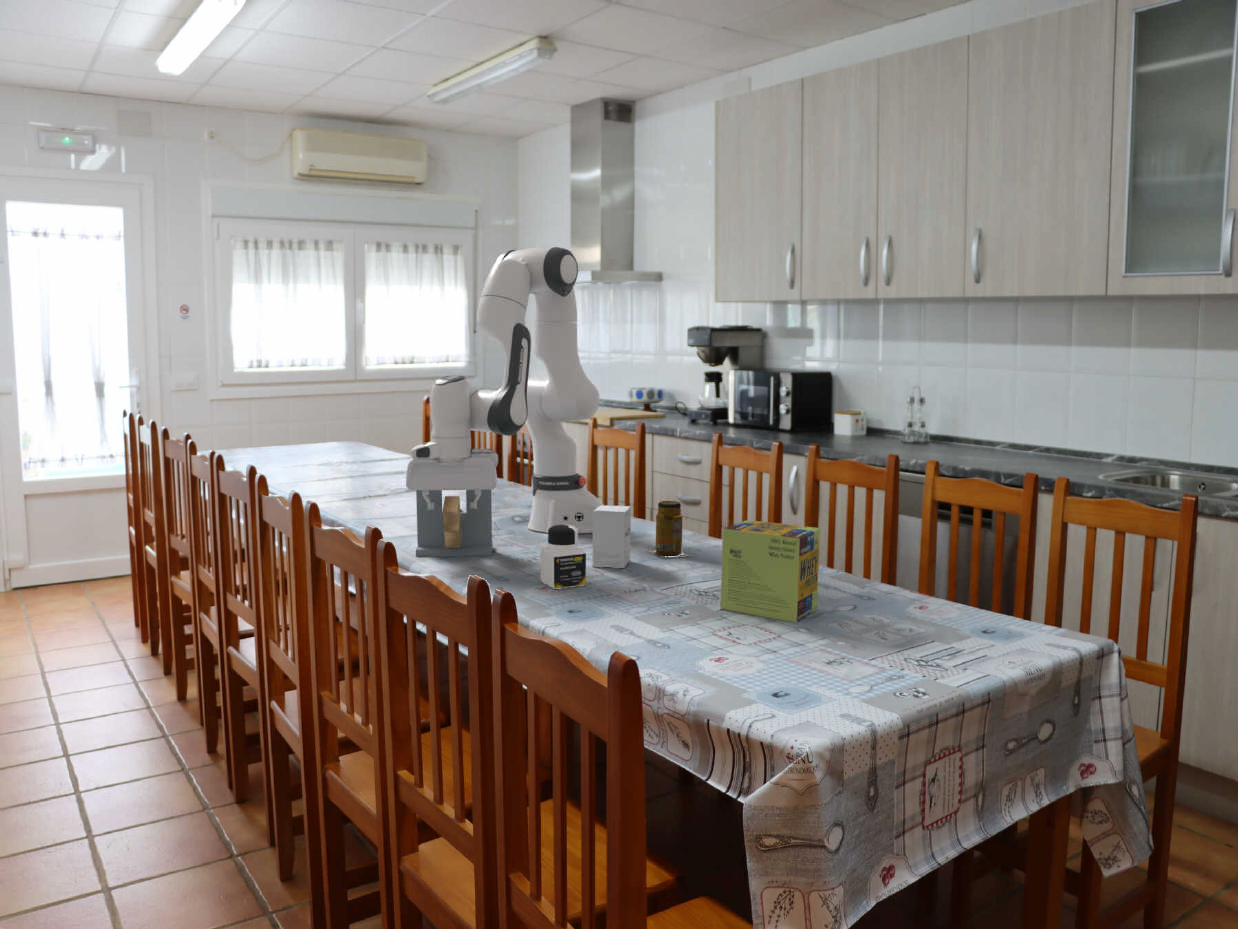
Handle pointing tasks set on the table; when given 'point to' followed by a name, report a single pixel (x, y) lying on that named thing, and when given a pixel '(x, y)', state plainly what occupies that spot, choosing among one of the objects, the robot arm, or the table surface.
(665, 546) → the condiment
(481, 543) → the slate keyhole board
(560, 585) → the medicine bottle
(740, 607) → the protein box
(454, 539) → the hanger block
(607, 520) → the supplement box
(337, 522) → the table surface
